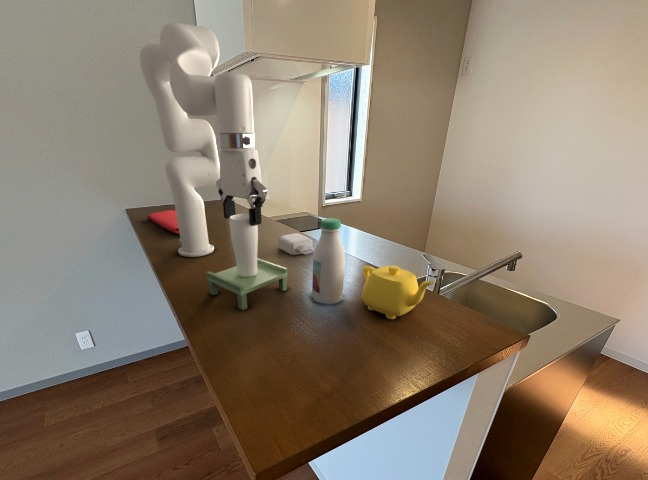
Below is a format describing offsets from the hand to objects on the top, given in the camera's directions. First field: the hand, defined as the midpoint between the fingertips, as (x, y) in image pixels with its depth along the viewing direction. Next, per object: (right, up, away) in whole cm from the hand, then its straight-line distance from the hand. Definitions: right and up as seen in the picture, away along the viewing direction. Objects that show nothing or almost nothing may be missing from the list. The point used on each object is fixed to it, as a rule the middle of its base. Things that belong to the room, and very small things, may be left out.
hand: (242, 221), depth 77 cm
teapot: (+35, -22, -2) cm, 42 cm away
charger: (+15, -2, +36) cm, 39 cm away
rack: (0, -17, +8) cm, 19 cm away
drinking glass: (0, -13, +6) cm, 14 cm away
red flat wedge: (-43, +17, +75) cm, 88 cm away
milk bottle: (+21, -19, +4) cm, 29 cm away
